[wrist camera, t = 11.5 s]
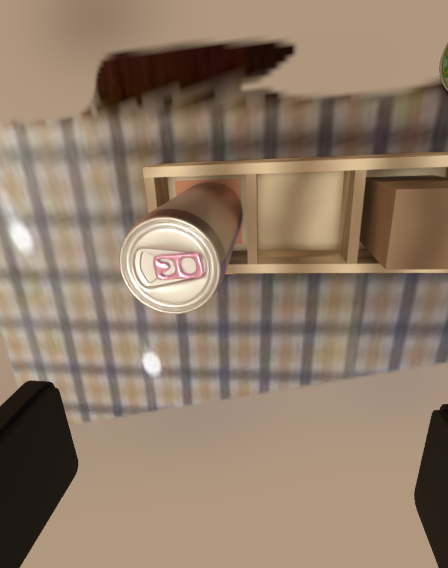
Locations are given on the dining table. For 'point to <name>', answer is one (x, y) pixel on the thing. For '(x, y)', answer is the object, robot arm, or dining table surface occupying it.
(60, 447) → the robot arm
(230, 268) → the rack
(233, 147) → the dining table surface
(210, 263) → the beverage can
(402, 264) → the walnut block
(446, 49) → the supplement bottle
